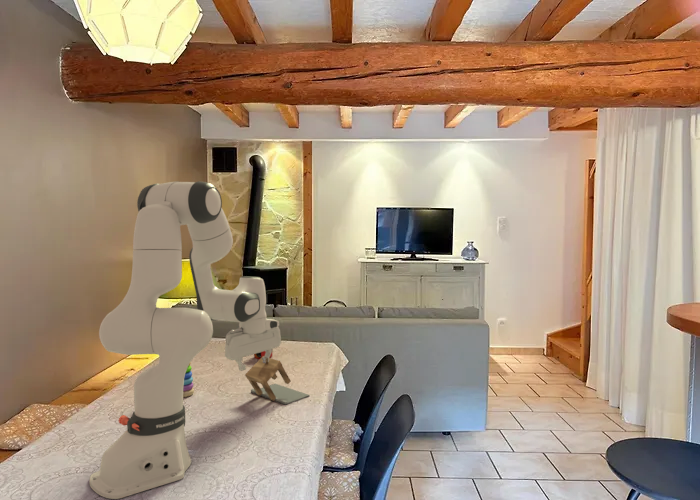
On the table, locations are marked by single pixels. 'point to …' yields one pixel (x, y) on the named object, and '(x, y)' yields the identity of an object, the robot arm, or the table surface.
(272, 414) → the table surface
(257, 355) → the canned food
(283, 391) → the mat
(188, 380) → the stacking toy
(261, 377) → the stool
